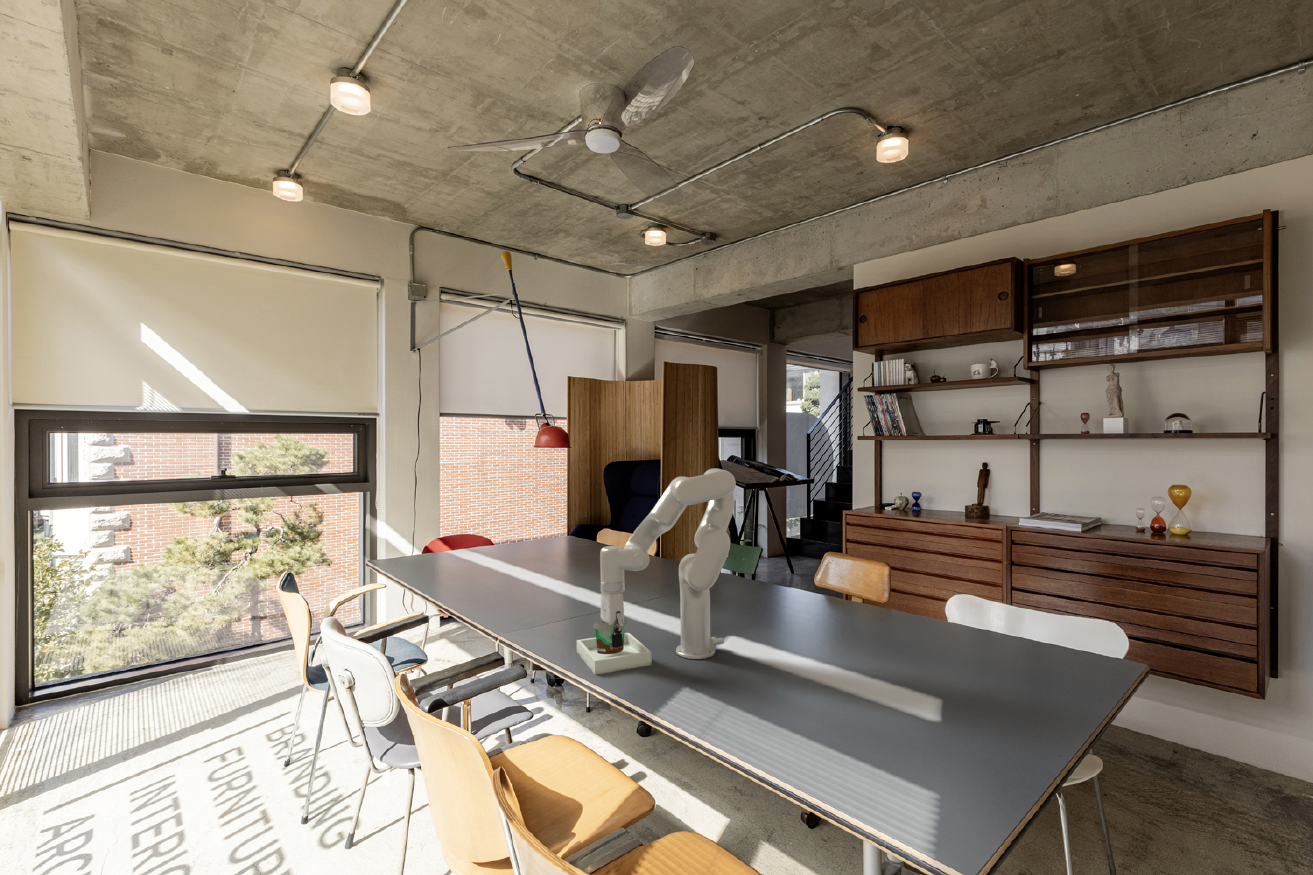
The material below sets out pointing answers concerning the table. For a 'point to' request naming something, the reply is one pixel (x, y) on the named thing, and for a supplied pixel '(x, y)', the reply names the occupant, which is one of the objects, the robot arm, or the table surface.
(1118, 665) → the table surface
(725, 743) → the table surface
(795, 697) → the table surface
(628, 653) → the tray
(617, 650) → the food container
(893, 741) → the table surface
